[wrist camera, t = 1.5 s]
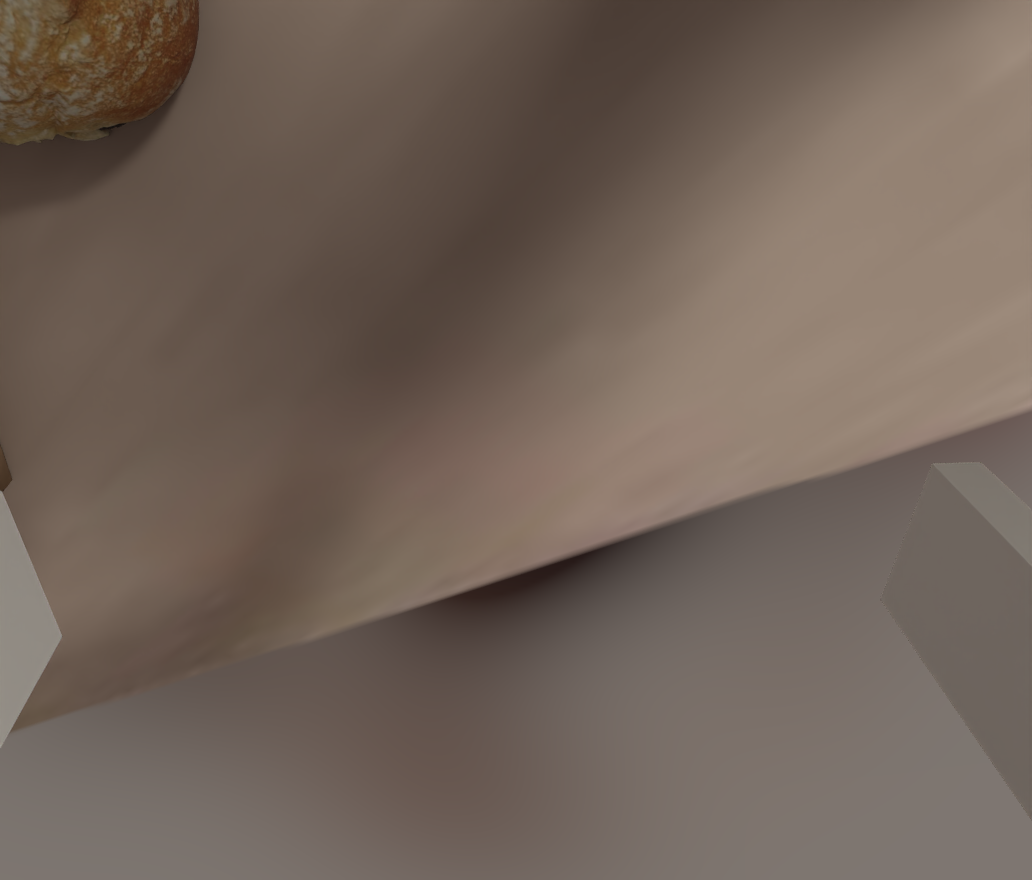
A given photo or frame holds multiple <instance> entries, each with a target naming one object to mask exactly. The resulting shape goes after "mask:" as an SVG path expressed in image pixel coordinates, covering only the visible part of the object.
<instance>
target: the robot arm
mask: <svg viewBox="0 0 1032 880" xmlns="http://www.w3.org/2000/svg"><path fill="white" fill-rule="evenodd" d="M881 601H882V603H883V604H884V606H885V607H886V609H887V610H888V612H889V613H890V614H891V616H892V617H893V619H894V620H895V622H896V623H897V625H898V626H899V627H900V629H901V630H902V632H903V633H904V635H905V636H906V638H907V639H908V641H909V642H910V644H911V645H912V646H913V648H914V649H915V651H916V652H917V654H918V655H919V657H920V658H921V660H922V661H923V663H924V664H925V665H926V667H927V668H928V670H929V671H930V673H931V674H932V676H933V677H934V679H935V680H936V681H937V683H938V684H939V686H940V687H941V689H942V690H943V692H944V693H945V694H946V696H947V697H948V699H949V700H950V702H951V703H952V705H953V706H954V708H955V709H956V711H957V712H958V713H959V715H960V716H961V718H962V719H963V721H964V722H965V724H966V725H967V727H968V728H969V730H970V731H971V733H972V734H973V735H974V737H975V738H976V740H977V741H978V743H979V744H980V746H981V747H982V749H983V750H984V752H985V753H986V754H987V756H988V757H989V759H990V760H991V762H992V763H993V765H994V766H995V768H996V769H997V770H998V772H999V773H1000V775H1001V776H1002V778H1003V779H1004V781H1005V782H1006V784H1007V785H1008V787H1009V788H1010V789H1011V791H1012V792H1013V794H1014V795H1015V797H1016V798H1017V800H1018V801H1019V803H1020V804H1021V805H1022V807H1023V809H1024V810H1025V811H1026V813H1027V814H1028V816H1029V817H1030V819H1031V820H1032V510H1031V509H1030V508H1029V507H1028V506H1027V505H1026V504H1025V503H1024V502H1023V501H1022V500H1021V499H1020V498H1019V497H1017V496H1016V495H1015V494H1014V493H1013V492H1012V491H1011V490H1010V489H1009V488H1008V487H1007V486H1006V485H1005V484H1004V483H1002V482H1001V481H1000V480H999V479H998V478H997V477H996V476H995V475H994V474H993V473H992V472H991V471H990V470H988V469H987V468H986V467H985V466H984V465H983V464H982V463H981V462H972V463H938V464H932V466H931V468H930V471H929V474H928V476H927V479H926V481H925V484H924V487H923V489H922V492H921V494H920V497H919V500H918V502H917V505H916V508H915V510H914V513H913V515H912V518H911V521H910V524H909V526H908V529H907V531H906V534H905V537H904V539H903V542H902V544H901V547H900V550H899V552H898V555H897V558H896V560H895V563H894V565H893V568H892V571H891V573H890V576H889V578H888V581H887V584H886V586H885V589H884V591H883V594H882V597H881ZM61 638H62V635H61V632H60V630H59V627H58V625H57V623H56V620H55V618H54V615H53V613H52V610H51V608H50V606H49V603H48V601H47V598H46V596H45V594H44V591H43V589H42V586H41V584H40V582H39V579H38V577H37V574H36V572H35V570H34V567H33V565H32V562H31V560H30V558H29V555H28V553H27V550H26V548H25V545H24V543H23V541H22V538H21V536H20V533H19V531H18V529H17V526H16V524H15V521H14V519H13V517H12V514H11V512H10V509H9V507H8V505H7V502H6V500H5V497H4V495H3V493H2V491H0V749H1V747H2V745H3V743H4V741H5V740H6V738H7V736H8V734H9V732H10V731H11V729H12V727H13V725H14V723H15V721H16V720H17V718H18V716H19V714H20V712H21V711H22V709H23V707H24V705H25V703H26V702H27V700H28V698H29V696H30V694H31V692H32V691H33V689H34V687H35V685H36V683H37V682H38V680H39V678H40V676H41V674H42V673H43V671H44V669H45V667H46V665H47V663H48V662H49V660H50V658H51V656H52V654H53V653H54V651H55V649H56V647H57V645H58V644H59V642H60V640H61Z"/></svg>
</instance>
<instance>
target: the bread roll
mask: <svg viewBox="0 0 1032 880" xmlns="http://www.w3.org/2000/svg"><path fill="white" fill-rule="evenodd" d="M198 30H199V2H198V0H0V143H8V144H15V145H17V146H18V145H21V144H23V143H25V142H28V141H35V142H38V143H40V142H41V143H42V140H43V139H49V140H53V139H54V137H55V136H56V134H58V135H61V136H64V137H67V138H70V139H75V140H81V141H90V140H97V139H100V138H102V137H105V136H108V135H110V134H109V131H108V129H111V128H114V127H120V126H122V125H124V124H126V123H127V122H132V121H135V120H141V119H143V118H145V117H147V116H148V115H150V114H151V113H153V112H154V111H155V110H157V109H158V108H159V107H160V106H161V105H163V104H164V103H165V102H166V101H167V100H168V99H169V98H170V97H171V95H172V94H173V93H174V92H175V91H176V90H177V89H178V88H179V86H180V85H181V84H182V83H183V81H184V80H185V78H186V76H187V74H188V73H189V70H190V67H191V64H192V61H193V58H194V54H195V49H196V44H197V37H198Z"/></svg>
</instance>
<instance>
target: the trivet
mask: <svg viewBox="0 0 1032 880" xmlns="http://www.w3.org/2000/svg"><path fill="white" fill-rule="evenodd" d="M11 481H12V478H11V475H10V472H9V469H8V466H7V463H6V460H5V457H4V454H3V451H2V448H1V445H0V491H2V492H3V491H4V489H5V488H6V487H7V486H8V484H9V483H10V482H11Z"/></svg>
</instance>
